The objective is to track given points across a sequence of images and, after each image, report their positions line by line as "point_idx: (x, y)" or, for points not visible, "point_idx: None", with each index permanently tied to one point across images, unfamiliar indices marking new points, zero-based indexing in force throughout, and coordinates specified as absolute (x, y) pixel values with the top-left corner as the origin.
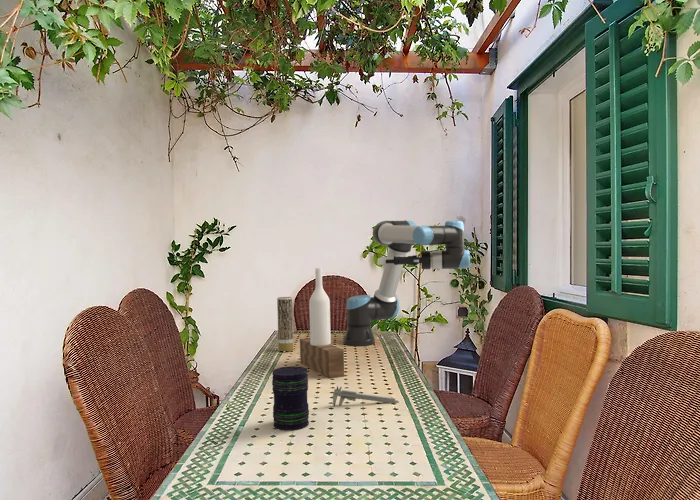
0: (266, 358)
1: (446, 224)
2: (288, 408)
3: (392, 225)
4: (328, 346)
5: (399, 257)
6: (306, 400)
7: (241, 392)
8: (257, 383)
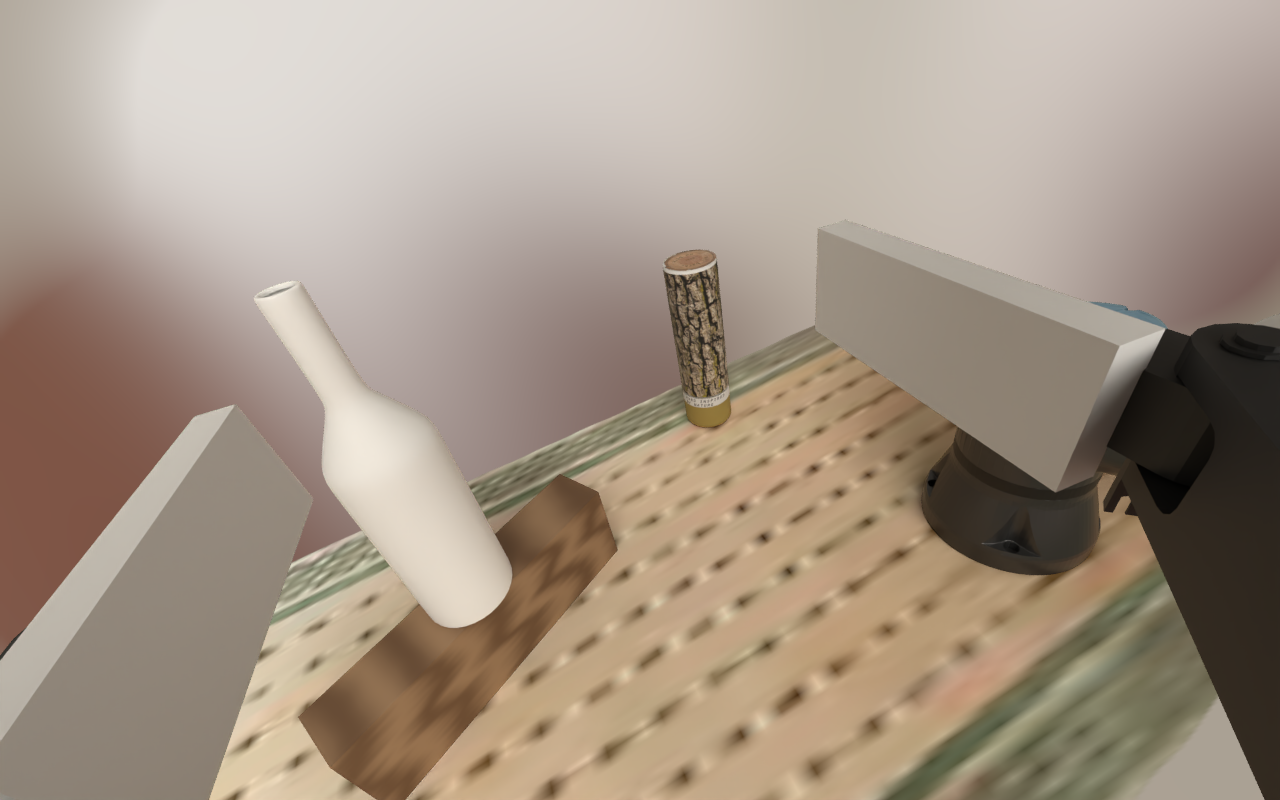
0: (605, 433)
1: None
2: None
3: None
4: (416, 648)
5: (1254, 432)
6: None
7: None
8: (326, 579)
